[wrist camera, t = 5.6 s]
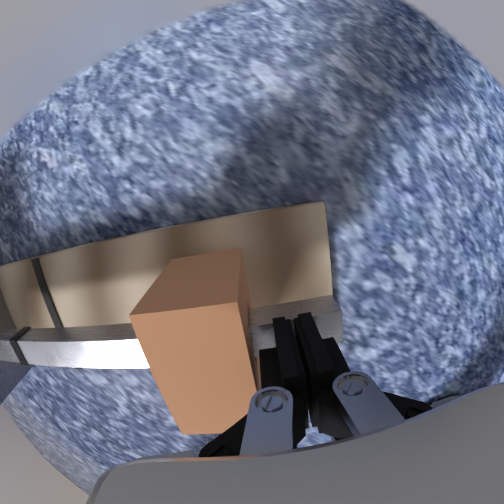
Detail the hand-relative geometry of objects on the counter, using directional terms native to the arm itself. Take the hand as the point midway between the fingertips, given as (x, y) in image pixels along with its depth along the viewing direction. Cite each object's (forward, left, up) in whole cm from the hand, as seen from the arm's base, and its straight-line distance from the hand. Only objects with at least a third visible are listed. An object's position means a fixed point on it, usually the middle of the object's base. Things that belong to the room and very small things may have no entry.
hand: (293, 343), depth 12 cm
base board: (+13, 0, -7) cm, 14 cm away
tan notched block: (+4, 0, -5) cm, 6 cm away
